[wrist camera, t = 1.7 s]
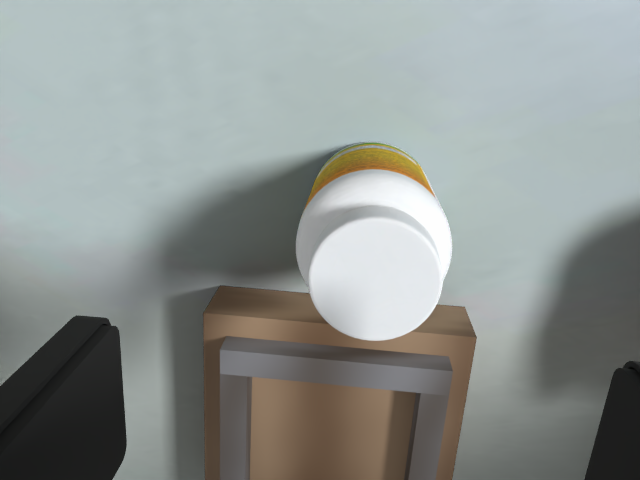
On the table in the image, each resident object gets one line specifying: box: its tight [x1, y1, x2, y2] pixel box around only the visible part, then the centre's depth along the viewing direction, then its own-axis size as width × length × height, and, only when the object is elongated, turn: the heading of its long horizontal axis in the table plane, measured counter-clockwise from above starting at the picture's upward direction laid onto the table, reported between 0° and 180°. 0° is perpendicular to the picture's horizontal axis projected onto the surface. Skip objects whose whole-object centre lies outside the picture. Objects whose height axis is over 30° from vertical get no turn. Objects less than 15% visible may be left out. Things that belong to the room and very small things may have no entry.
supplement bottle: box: [296, 142, 452, 341], centre depth 21 cm, size 5×5×10 cm
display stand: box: [203, 286, 477, 480], centre depth 27 cm, size 12×12×4 cm
